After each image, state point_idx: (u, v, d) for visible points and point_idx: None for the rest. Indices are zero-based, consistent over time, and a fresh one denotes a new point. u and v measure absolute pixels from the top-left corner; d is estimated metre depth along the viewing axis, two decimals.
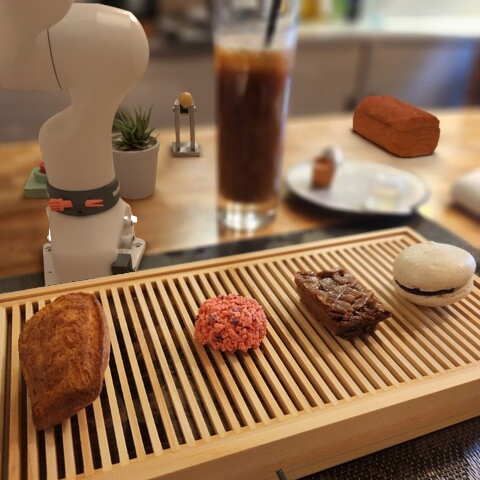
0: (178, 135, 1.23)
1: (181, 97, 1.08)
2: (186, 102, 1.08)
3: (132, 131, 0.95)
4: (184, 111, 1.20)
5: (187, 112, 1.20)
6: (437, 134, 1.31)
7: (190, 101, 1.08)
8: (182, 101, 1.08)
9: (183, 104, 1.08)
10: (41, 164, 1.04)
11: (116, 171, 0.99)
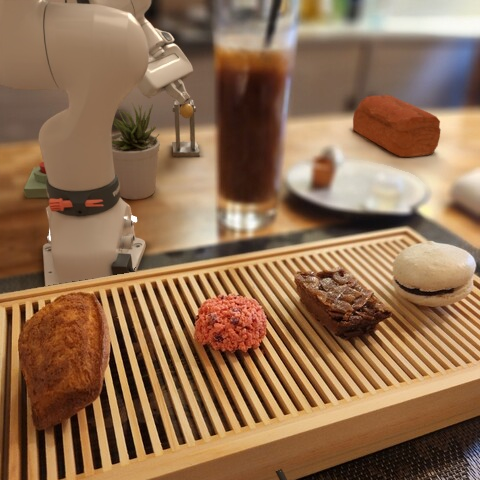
0: (178, 135, 1.23)
1: (182, 109, 1.08)
2: (187, 114, 1.09)
3: (132, 131, 0.95)
4: None
5: None
6: (437, 134, 1.31)
7: (191, 113, 1.09)
8: (183, 113, 1.09)
9: (184, 116, 1.09)
10: (41, 164, 1.04)
11: (116, 171, 0.99)
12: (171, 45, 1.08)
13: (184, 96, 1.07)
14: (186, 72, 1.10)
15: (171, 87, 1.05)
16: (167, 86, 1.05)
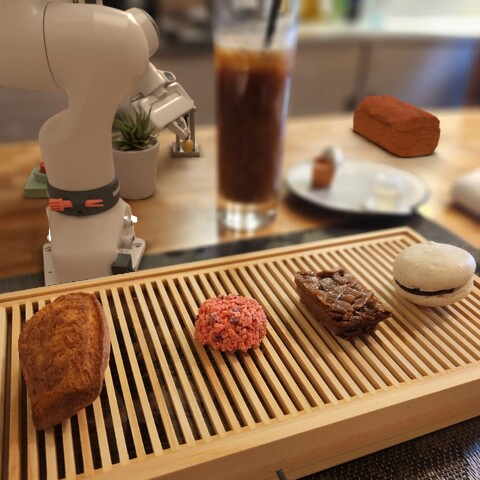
0: None
1: (183, 148, 1.15)
2: (188, 152, 1.16)
3: (132, 131, 0.95)
4: None
5: (187, 116, 1.22)
6: (437, 134, 1.31)
7: (191, 150, 1.16)
8: (184, 151, 1.16)
9: None
10: (41, 164, 1.04)
11: (116, 171, 0.99)
12: (173, 84, 1.14)
13: (185, 133, 1.13)
14: (187, 109, 1.16)
15: (173, 125, 1.11)
16: (169, 124, 1.11)
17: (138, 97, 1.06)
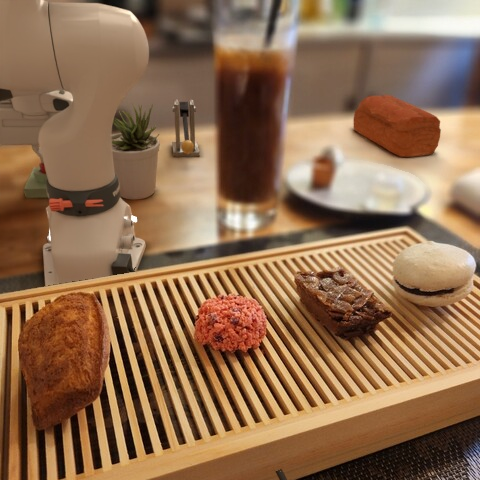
0: (178, 135, 1.23)
1: (183, 149, 1.15)
2: (188, 153, 1.16)
3: (132, 131, 0.95)
4: None
5: (187, 116, 1.22)
6: (437, 134, 1.31)
7: (191, 151, 1.16)
8: (184, 152, 1.16)
9: None
10: (41, 164, 1.04)
11: (116, 171, 0.99)
12: None
13: None
14: None
15: None
16: None
17: (2, 102, 0.95)
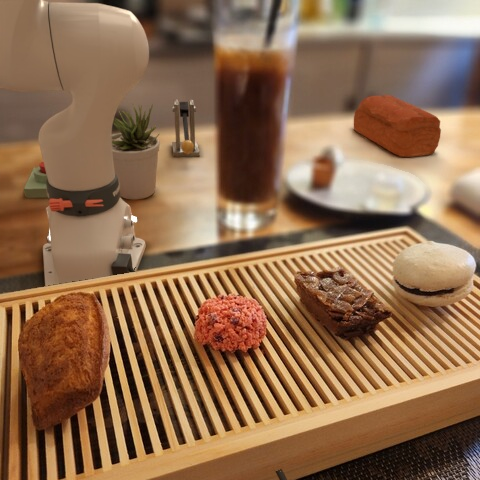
0: (178, 135, 1.23)
1: (183, 149, 1.15)
2: (188, 153, 1.16)
3: (132, 131, 0.95)
4: None
5: (187, 116, 1.22)
6: (437, 134, 1.31)
7: (191, 151, 1.16)
8: (184, 152, 1.16)
9: None
10: (41, 164, 1.04)
11: (116, 171, 0.99)
12: None
13: None
14: None
15: None
16: None
17: None
